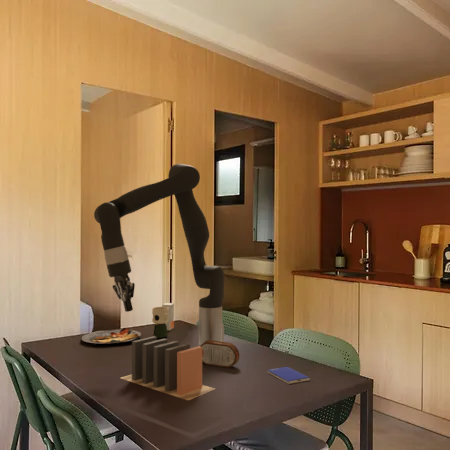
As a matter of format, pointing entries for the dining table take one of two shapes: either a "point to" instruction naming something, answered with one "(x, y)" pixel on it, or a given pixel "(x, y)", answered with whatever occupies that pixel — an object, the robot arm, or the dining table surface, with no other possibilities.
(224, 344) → the tin
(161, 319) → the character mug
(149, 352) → the domino
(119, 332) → the food plate
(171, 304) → the skincare box
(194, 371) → the domino
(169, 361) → the domino
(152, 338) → the domino
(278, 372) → the blue notebook
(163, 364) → the domino
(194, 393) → the board
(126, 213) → the robot arm
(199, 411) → the dining table surface
